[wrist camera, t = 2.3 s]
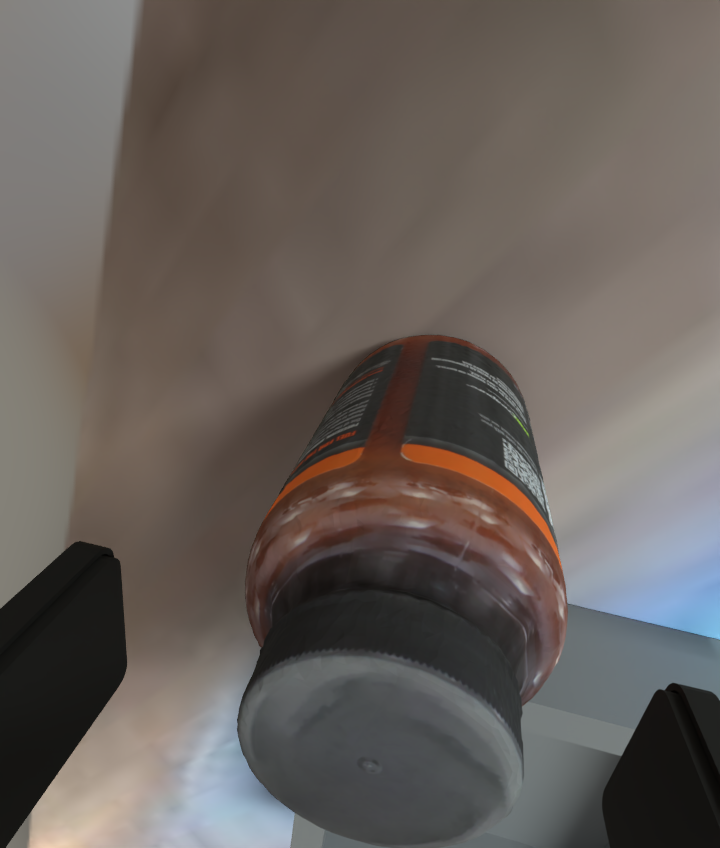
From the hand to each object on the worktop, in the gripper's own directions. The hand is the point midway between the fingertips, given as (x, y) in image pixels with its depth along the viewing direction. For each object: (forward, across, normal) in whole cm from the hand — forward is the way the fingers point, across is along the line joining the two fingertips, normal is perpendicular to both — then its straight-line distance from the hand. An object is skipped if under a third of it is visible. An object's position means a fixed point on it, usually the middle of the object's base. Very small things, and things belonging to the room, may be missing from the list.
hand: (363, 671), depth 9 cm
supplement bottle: (+9, 0, -1) cm, 9 cm away
